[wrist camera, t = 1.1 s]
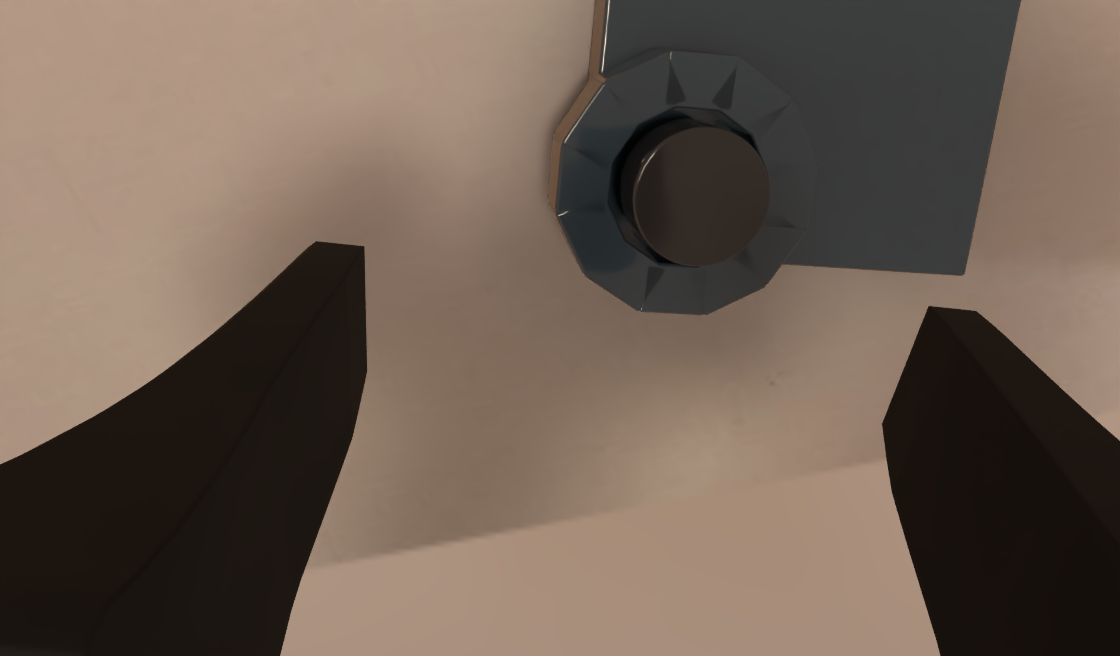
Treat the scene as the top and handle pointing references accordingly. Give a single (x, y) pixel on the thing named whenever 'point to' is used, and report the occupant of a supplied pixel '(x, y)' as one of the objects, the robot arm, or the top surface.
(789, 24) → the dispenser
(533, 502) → the top surface
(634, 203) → the dark brown short cylinder
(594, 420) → the top surface
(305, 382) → the robot arm
